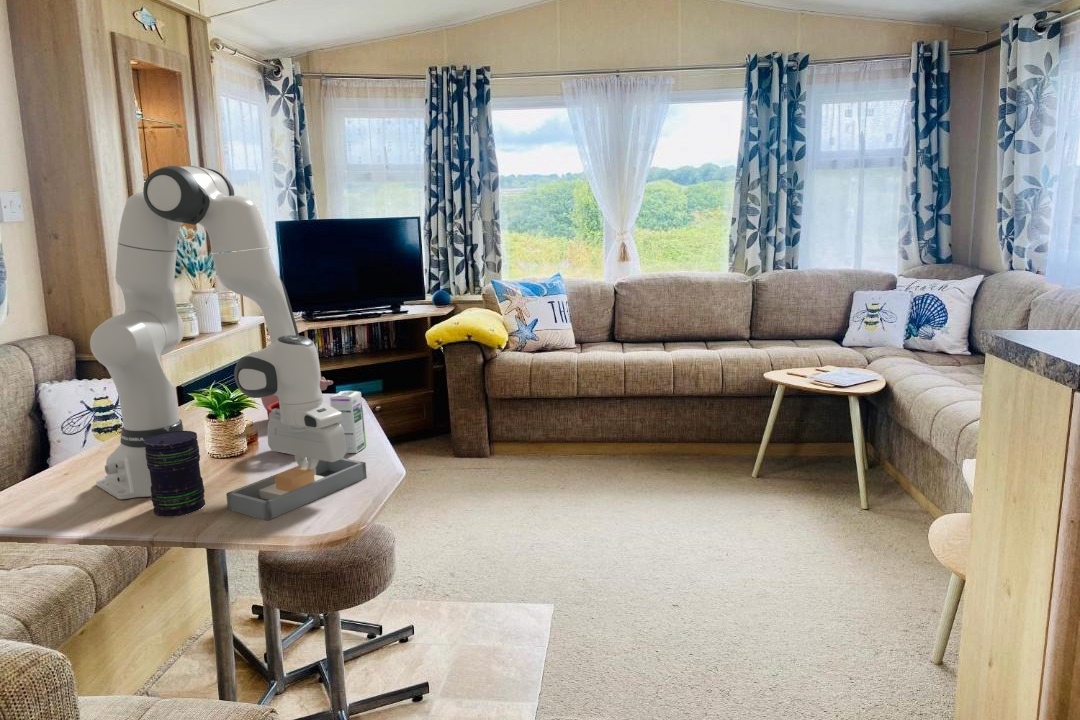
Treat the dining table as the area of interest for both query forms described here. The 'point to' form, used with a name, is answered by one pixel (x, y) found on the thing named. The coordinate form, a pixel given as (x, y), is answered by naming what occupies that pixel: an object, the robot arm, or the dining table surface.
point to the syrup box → (351, 419)
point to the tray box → (274, 502)
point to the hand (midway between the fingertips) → (308, 475)
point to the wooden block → (294, 478)
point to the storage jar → (175, 473)
